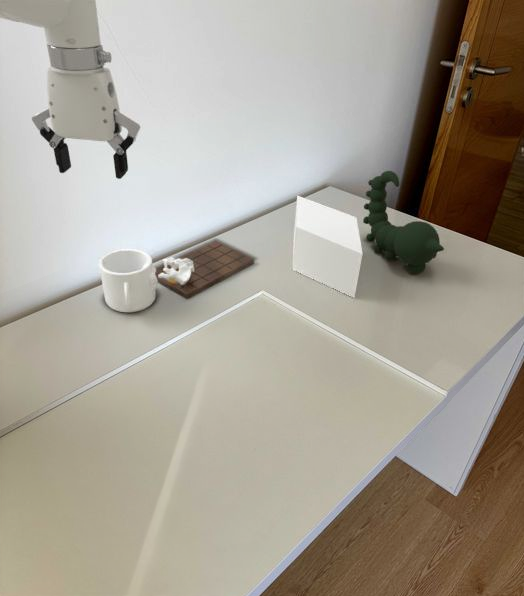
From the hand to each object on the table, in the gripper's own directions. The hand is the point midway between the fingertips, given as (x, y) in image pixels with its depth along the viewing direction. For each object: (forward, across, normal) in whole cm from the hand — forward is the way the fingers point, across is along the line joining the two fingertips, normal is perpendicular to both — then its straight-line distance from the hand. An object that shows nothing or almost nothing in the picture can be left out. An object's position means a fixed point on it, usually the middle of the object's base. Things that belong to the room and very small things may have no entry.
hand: (93, 173), depth 88 cm
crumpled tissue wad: (+24, -11, -9) cm, 28 cm away
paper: (+25, -40, -22) cm, 52 cm away
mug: (+25, -4, +1) cm, 26 cm away
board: (+25, -15, -15) cm, 33 cm away
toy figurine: (+24, -57, -28) cm, 69 cm away
